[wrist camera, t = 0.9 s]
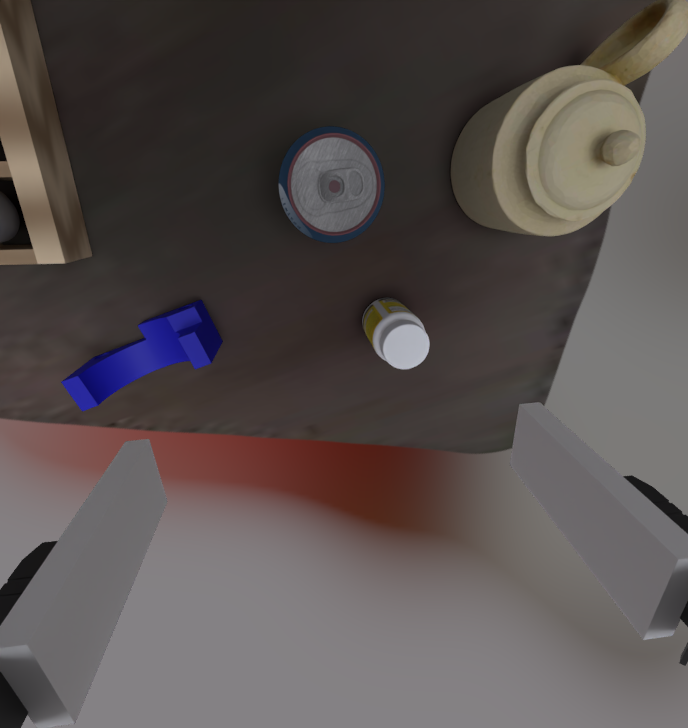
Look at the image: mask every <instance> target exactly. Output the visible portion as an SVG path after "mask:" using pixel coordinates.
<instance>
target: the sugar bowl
mask: <svg viewBox="0 0 688 728" xmlns="http://www.w3.org/2000/svg"><path fill="white" fill-rule="evenodd" d="M687 32H688V3H687V2H686V1H685V0H657V1H655V2H654V3H652V4H650V5H649V6H647V7H646V8H644V9H642V10H641V11H639V12H638V13H637V14H635V15H634V16H633V17H631V18H630V19H629V20H627V21H626V22H625V23H624V24H622V25H621V26H620V27H619V28H618V29H617V30H616V31H614V32H613V33H612V34H611V35H610V36H609V37H608V38H607V39H606V40H605V41H604V42H603V43H601V44H600V45H599V46H598V47H597V48H596V49H595V50H594V51H593V52H592V53H591V54H590V55H589V56H588V57H587V58H586V59H585V60H584V61H583V63H582V64H581V65H574V66H566V67H562V68H558V69H556V70H553V71H551V72H549V73H546V74H544V75H542V76H540V77H538V78H535V79H533V80H531V81H529V82H527V83H525V84H523V85H521V86H519V87H517V88H515V89H513V90H511V91H510V92H508V93H506V94H504V95H503V96H501V97H499V98H497V99H495V100H494V101H492V102H490V103H488V104H487V105H486V106H484V107H483V108H481V109H480V110H479V111H478V112H477V113H476V114H475V115H473V116H472V118H471V119H470V120H469V121H468V123H467V124H466V125H465V127H464V128H463V130H462V132H461V134H460V136H459V138H458V140H457V142H456V145H455V148H454V151H453V155H452V160H451V173H450V174H451V182H452V188H453V192H454V195H455V198H456V200H457V202H458V204H459V205H460V207H461V209H462V210H463V211H464V213H465V214H466V215H467V216H468V217H469V218H471V219H472V220H473V221H475V222H476V223H478V224H480V225H482V226H485V227H488V228H493V229H498V230H503V231H508V232H513V233H520V234H528V235H537V236H557V235H563V234H567V233H570V232H573V231H576V230H578V229H580V228H582V227H584V226H585V225H587V224H588V223H590V222H591V221H593V220H594V219H595V218H597V217H598V216H599V215H600V214H601V213H602V212H603V211H604V210H605V209H607V208H608V207H610V206H611V205H612V204H613V203H614V202H615V201H616V200H617V199H618V198H620V196H621V195H622V194H623V193H624V192H625V190H626V189H627V188H628V186H629V185H630V184H631V182H632V179H633V177H634V175H635V174H636V172H637V171H638V168H639V165H640V163H641V160H642V156H643V153H644V147H645V141H646V126H645V119H644V114H643V112H642V110H641V108H640V106H639V104H638V102H637V101H636V99H635V97H634V95H633V93H632V91H631V90H630V89H628V88H627V87H625V85H626V84H628V83H630V82H632V81H634V80H635V79H637V78H639V77H641V76H643V75H644V74H646V73H647V72H649V71H650V70H651V69H653V68H654V67H655V66H657V65H658V64H659V63H660V62H662V61H663V60H664V59H665V58H667V57H668V56H669V55H670V54H671V52H672V51H673V50H674V49H675V48H676V47H677V46H678V45H679V43H680V42H681V41H682V40H683V38H684V37H685V36H686V34H687Z"/></svg>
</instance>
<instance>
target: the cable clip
mask: <svg viewBox="0 0 688 728" xmlns="http://www.w3.org/2000/svg"><path fill="white" fill-rule="evenodd" d="M138 327H139V328H140V330H141V332H142V333H143V335H144V337H145V338H143V339H141V340H138V341H135V342H133V343H130V344H127V345H125V346H122V347H120V348H117V349H114V350H112V351H109V352H106V353H104V354H101V355H98V356H96V357H93V358H92V359H91V360H89V361H88V362H87V363H86V364H84V365H83V366H82V367H80V368H79V369H78V370H76V371H75V372H74V373H72V374H71V375H70V376H69V377H67V378H66V379H65V380H63V381H62V382H61V383H62V384H63V385H64V387H65V388H66V389H67V391H68V392H69V394H70V395H71V396H72V398H73V399H74V401H75V402H76V403H77V405H78V406H79V407H80V409H81V410H82V411H85V410H87V409H90V408H93V407H95V406H98V405H99V404H100V403H101V402H102V401H104V400H105V399H106V398H107V397H109V396H110V395H111V394H113V393H114V392H116V391H117V390H119V389H120V388H122V387H124V386H125V385H127V384H129V383H130V382H132V381H134V380H136V379H138V378H140V377H142V376H144V375H146V374H148V373H150V372H153V371H155V370H157V369H160V368H162V367H165V366H168V365H171V364H175V363H178V362H184V361H191V363H192V365H193V367H194V368H195V369H197V368H200V367H203V366H205V365H208V364H211V363H212V361H213V359H214V357H215V355H216V353H217V351H218V349H219V348H220V346H221V344H222V342H223V341H222V339H221V337H220V335H219V333H218V331H217V329H216V327H215V325H214V323H213V321H212V320H211V318H210V316H209V314H208V312H207V310H206V308H205V306H204V304H203V302H202V300H199V301H196V302H194V303H191V304H188V305H186V306H183V307H180V308H178V309H175V310H172V311H170V312H167V313H164V314H162V315H159V316H157V317H154V318H151V319H149V320H146V321H143V322H142V323H140V324H139V325H138Z"/></svg>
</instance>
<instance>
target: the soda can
mask: <svg viewBox="0 0 688 728" xmlns="http://www.w3.org/2000/svg"><path fill="white" fill-rule="evenodd" d="M384 186H385V184H384V174H383V170H382V166H381V163H380V161H379V158H378V156H377V155H376V153H375V151H374V150H373V148H372V147H371V146H370V145H369V144H368V142H367V141H366V140H364V139H363V138H362V137H361V136H359V135H358V134H356V133H354V132H352V131H350V130H348V129H345V128H341V127H334V126H328V127H320V128H317V129H314V130H311V131H309V132H307V133H306V134H304V135H303V136H301V137H300V138H299V139H297V140H296V141H295V142H294V144H293V145H292V146H291V147H290V149H289V150H288V152H287V153H286V155H285V157H284V159H283V162H282V165H281V169H280V173H279V194H280V199H281V203H282V205H283V208H284V210H285V212H286V214H287V216H288V218H289V219H290V221H291V222H292V223H293V224H294V225H295V227H296V228H297V229H299V230H300V231H301V232H302V233H304V234H305V235H307V236H308V237H310V238H312V239H315V240H318V241H321V242H327V243H338V242H344V241H347V240H350V239H352V238H354V237H356V236H358V235H360V234H361V233H362V232H364V231H365V230H366V229H367V228H368V227H369V226H370V225H371V223H372V222H373V221H374V219H375V218H376V216H377V214H378V212H379V210H380V208H381V205H382V201H383V197H384Z"/></svg>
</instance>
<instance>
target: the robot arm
mask: <svg viewBox="0 0 688 728" xmlns="http://www.w3.org/2000/svg"><path fill="white" fill-rule="evenodd" d="M510 466H511V467H512V468H513V470H514V471H515V472H516V474H517V475H518V476H519V478H520V479H521V480H522V482H523V483H524V484H525V485H526V487H527V488H528V489H529V491H530V492H531V493H532V495H533V496H534V497H535V499H536V500H537V501H538V503H539V504H540V505H541V506H542V508H543V509H544V510H545V512H546V513H547V514H548V516H549V517H550V518H551V520H552V521H553V522H554V524H555V525H556V526H557V527H558V529H559V530H560V531H561V533H562V534H563V535H564V537H565V538H566V539H567V541H568V542H569V543H570V544H571V546H572V547H573V548H574V550H575V551H576V552H577V554H578V555H579V556H580V557H581V559H582V560H583V562H584V563H585V564H586V565H587V567H588V568H589V569H590V571H591V572H592V573H593V575H594V576H595V577H596V579H597V580H598V581H599V583H600V584H601V585H602V586H603V588H604V589H605V590H606V592H607V593H608V594H609V596H610V597H611V598H612V600H613V601H614V602H615V603H616V605H617V606H618V607H619V609H620V610H621V611H622V613H623V614H624V615H625V616H626V618H627V619H628V621H629V622H630V623H631V624H632V626H633V627H634V628H635V630H636V631H637V632H638V634H639V635H640V636H641V638H642V639H643V640H646V639H653V638H660V637H667V636H672V635H673V634H674V632H675V630H676V628H677V626H678V623H679V621H680V619H681V620H682V621H683V622H684V623H685V624H686V625H687V626H688V516H686V515H683V514H682V511H681V510H679V509H678V508H677V507H676V506H675V505H674V504H672V503H669V500H668V499H666V498H665V497H664V496H663V495H662V494H660V493H659V492H658V491H657V490H656V489H655V488H653V487H652V486H650V485H648V484H647V483H645V482H643V481H641V480H639V479H637V478H636V477H634V476H624V477H623V476H622V475H621V474H620V473H618V472H617V471H616V470H615V469H614V468H613V467H612V466H610V465H609V464H608V463H607V462H606V461H605V460H604V459H603V458H602V457H600V456H599V455H598V454H597V453H596V452H595V451H594V450H593V449H591V448H590V447H589V446H588V445H587V444H586V443H584V441H582V440H581V439H580V438H579V437H578V436H577V435H576V434H575V433H573V432H572V431H571V430H570V429H569V428H568V427H567V426H566V425H564V424H563V423H562V422H561V421H560V420H559V419H558V418H557V417H555V416H554V415H553V414H552V413H551V412H550V411H549V410H548V409H546V408H545V407H544V406H543V405H542V404H541V403H540V402H538V403H527V404H519V410H518V417H517V423H516V429H515V435H514V441H513V448H512V454H511V461H510ZM166 504H167V498H166V495H165V492H164V488H163V485H162V481H161V478H160V475H159V471H158V468H157V464H156V461H155V458H154V455H153V451H152V447H151V444H150V441H149V439H146V440H135V441H126V442H125V443H124V445H123V446H122V448H121V449H120V450H119V452H118V454H117V455H116V456H115V458H114V460H113V461H112V462H111V464H110V465H109V467H108V468H107V470H106V471H105V473H104V474H103V476H102V477H101V479H100V480H99V481H98V483H97V484H96V486H95V487H94V489H93V490H92V492H91V493H90V495H89V496H88V498H87V499H86V501H85V502H84V504H83V505H82V506H81V508H80V509H79V511H78V512H77V514H76V515H75V517H74V518H73V520H72V521H71V523H70V524H69V526H68V527H67V529H66V530H65V531H64V533H63V535H62V536H61V537H60V539H59V540H58V541H53V542H44V543H42V544H40V546H38V547H37V548H36V549H35V550H34V551H32V552H31V553H30V554H29V555H28V556H26V557H25V558H24V559H23V560H22V561H21V562H20V564H19V565H18V566H17V568H16V569H15V570H14V572H13V573H12V574H11V576H10V577H9V579H8V582H7V583H6V584H4V585H3V587H2V588H1V590H0V728H21V726H22V724H23V722H24V720H25V718H26V716H27V714H28V716H29V717H30V719H31V720H32V722H33V723H34V725H35V726H36V727H37V728H49V727H55V726H62V725H69V724H75V722H76V720H77V718H78V715H79V713H80V710H81V708H82V706H83V703H84V701H85V698H86V696H87V694H88V691H89V689H90V686H91V684H92V682H93V679H94V677H95V674H96V672H97V669H98V667H99V665H100V662H101V660H102V657H103V655H104V653H105V650H106V648H107V646H108V643H109V641H110V638H111V636H112V633H113V631H114V629H115V626H116V624H117V622H118V619H119V616H120V614H121V612H122V609H123V607H124V605H125V602H126V600H127V597H128V595H129V592H130V590H131V588H132V586H133V583H134V581H135V578H136V576H137V573H138V571H139V569H140V566H141V564H142V561H143V559H144V556H145V554H146V552H147V549H148V547H149V545H150V542H151V540H152V537H153V535H154V533H155V530H156V528H157V525H158V523H159V521H160V518H161V516H162V513H163V511H164V509H165V506H166ZM687 662H688V643H687V645H686V647H685V649H684V651H683V653H682V655H681V659H680V663H681V664H682V665H686V664H687Z"/></svg>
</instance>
